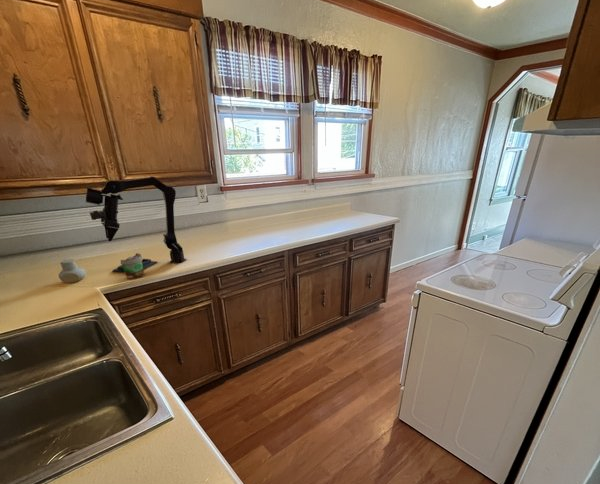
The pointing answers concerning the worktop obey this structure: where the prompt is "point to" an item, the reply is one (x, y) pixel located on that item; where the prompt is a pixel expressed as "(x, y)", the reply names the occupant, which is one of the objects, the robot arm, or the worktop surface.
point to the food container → (133, 266)
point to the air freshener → (71, 271)
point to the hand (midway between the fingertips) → (108, 239)
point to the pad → (145, 263)
